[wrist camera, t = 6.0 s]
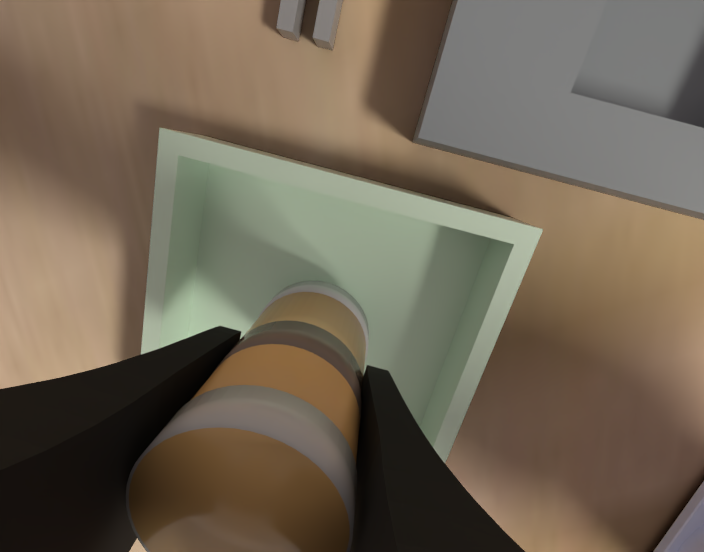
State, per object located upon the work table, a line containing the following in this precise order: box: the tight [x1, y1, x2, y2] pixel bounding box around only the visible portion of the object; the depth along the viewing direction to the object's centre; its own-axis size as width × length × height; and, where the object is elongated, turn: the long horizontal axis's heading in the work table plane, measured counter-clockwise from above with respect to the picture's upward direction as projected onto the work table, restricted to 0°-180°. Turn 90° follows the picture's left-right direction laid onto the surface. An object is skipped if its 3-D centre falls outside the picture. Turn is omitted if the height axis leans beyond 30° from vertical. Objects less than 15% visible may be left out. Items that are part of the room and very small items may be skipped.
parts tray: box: [141, 128, 543, 463], centre depth 13 cm, size 11×11×2 cm
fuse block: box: [412, 0, 704, 220], centre depth 10 cm, size 12×9×2 cm
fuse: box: [126, 280, 369, 552], centre depth 9 cm, size 4×4×7 cm
